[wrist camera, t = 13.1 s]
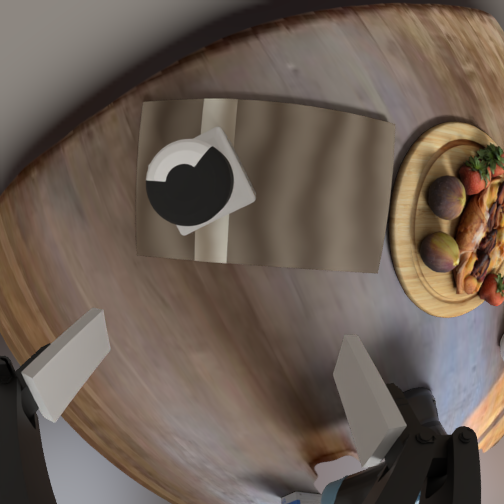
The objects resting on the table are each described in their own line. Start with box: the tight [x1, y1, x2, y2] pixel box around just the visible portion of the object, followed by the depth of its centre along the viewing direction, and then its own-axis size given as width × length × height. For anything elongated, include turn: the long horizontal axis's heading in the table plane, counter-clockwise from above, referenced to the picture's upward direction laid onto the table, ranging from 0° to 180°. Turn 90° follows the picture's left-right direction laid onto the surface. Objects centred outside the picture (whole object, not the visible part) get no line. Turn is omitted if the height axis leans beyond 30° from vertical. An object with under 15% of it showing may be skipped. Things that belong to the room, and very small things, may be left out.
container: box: [146, 127, 256, 235], centre depth 24 cm, size 8×8×13 cm
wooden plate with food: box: [389, 122, 504, 318], centre depth 29 cm, size 32×32×8 cm
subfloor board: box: [136, 99, 395, 273], centre depth 32 cm, size 32×20×2 cm, turn 86°
